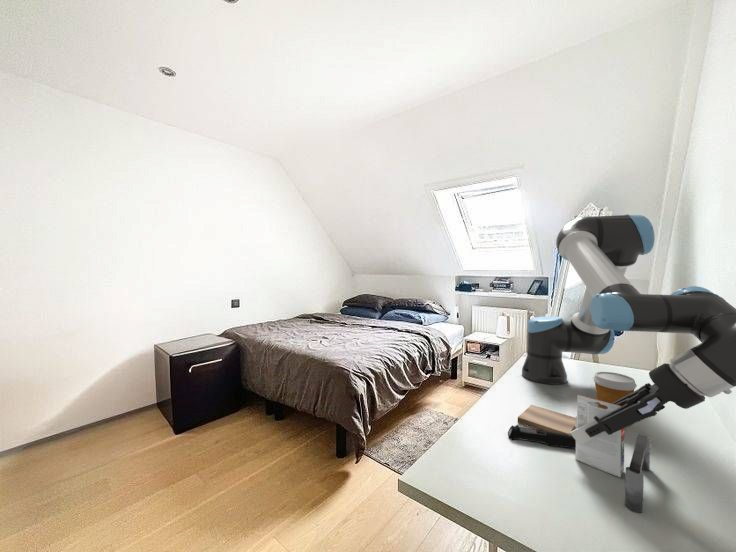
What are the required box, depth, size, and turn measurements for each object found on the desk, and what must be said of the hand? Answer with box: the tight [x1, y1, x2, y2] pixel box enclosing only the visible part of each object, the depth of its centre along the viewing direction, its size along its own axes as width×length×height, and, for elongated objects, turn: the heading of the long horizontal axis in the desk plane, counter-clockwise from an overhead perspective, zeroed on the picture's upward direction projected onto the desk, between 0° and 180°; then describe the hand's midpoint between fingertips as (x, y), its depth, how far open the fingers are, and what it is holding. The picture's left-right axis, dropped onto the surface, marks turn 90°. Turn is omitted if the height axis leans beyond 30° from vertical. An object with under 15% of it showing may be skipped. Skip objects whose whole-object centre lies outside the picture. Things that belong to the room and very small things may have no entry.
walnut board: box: [517, 404, 576, 436], centre depth 84 cm, size 11×12×2 cm
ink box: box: [574, 394, 626, 478], centre depth 66 cm, size 4×8×15 cm, turn 40°
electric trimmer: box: [507, 424, 576, 449], centre depth 75 cm, size 4×16×3 cm, turn 69°
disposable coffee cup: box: [592, 371, 638, 409], centre depth 86 cm, size 10×10×12 cm
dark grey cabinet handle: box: [624, 433, 651, 514], centre depth 60 cm, size 18×2×7 cm, turn 135°
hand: (577, 434), depth 69 cm, fingers closed on ink box, 4 cm apart
